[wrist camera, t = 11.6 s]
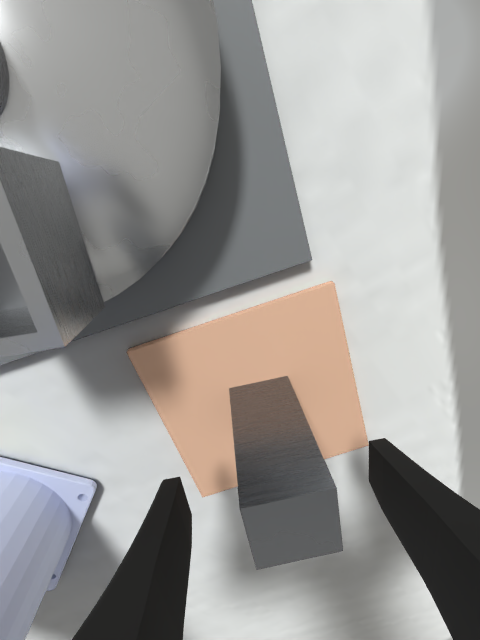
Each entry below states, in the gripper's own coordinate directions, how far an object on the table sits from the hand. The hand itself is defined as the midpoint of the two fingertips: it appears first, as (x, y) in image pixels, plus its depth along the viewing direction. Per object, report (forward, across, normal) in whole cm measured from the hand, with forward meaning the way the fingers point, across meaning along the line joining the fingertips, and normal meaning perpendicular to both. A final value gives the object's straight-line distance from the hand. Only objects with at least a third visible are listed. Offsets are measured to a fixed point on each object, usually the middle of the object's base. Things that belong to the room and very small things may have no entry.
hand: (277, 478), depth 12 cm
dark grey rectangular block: (+5, 0, 0) cm, 5 cm away
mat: (+5, 0, 0) cm, 5 cm away
